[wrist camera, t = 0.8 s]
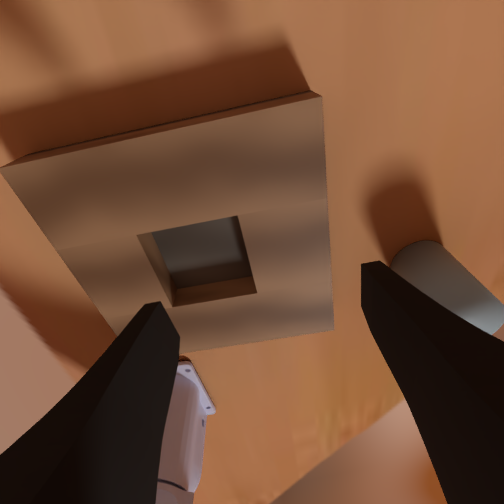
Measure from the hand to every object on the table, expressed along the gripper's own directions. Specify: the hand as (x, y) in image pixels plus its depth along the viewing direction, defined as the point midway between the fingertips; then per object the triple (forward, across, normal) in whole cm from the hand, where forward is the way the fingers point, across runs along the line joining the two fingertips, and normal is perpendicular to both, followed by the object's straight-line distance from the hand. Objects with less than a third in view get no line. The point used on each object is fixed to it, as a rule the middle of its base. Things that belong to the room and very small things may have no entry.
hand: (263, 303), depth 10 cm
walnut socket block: (+9, +4, +3) cm, 11 cm away
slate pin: (+10, -11, +8) cm, 17 cm away
